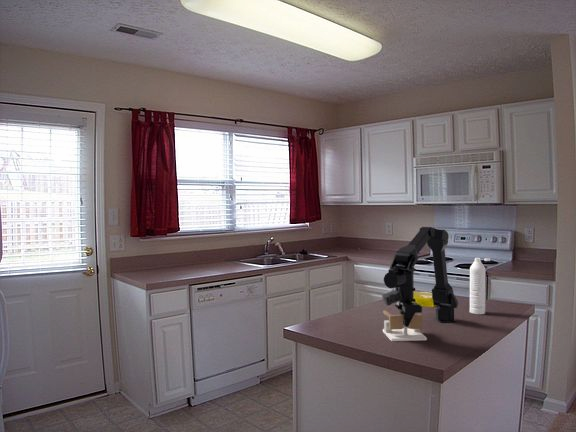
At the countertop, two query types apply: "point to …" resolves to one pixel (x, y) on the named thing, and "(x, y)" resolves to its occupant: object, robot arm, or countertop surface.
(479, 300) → the water bottle
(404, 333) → the display stand
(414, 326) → the wooden c-shaped bracket
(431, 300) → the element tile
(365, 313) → the countertop surface
